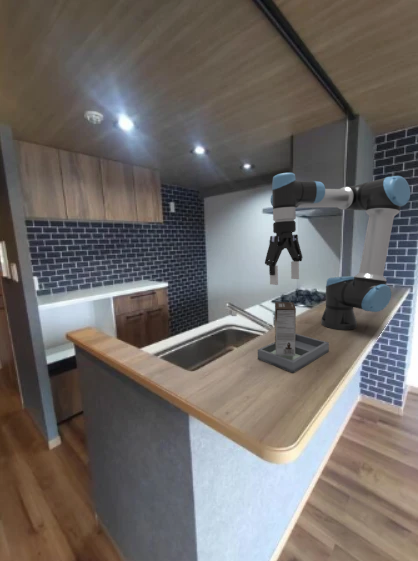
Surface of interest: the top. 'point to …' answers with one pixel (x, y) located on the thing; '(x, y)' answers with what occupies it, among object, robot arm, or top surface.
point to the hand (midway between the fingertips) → (285, 281)
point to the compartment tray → (304, 353)
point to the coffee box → (285, 328)
